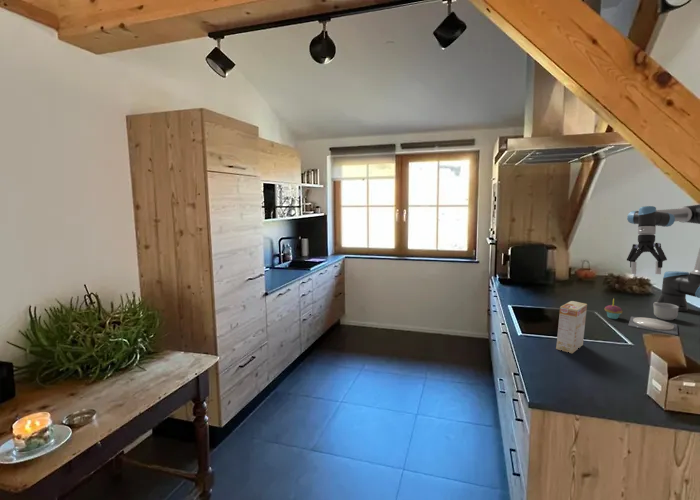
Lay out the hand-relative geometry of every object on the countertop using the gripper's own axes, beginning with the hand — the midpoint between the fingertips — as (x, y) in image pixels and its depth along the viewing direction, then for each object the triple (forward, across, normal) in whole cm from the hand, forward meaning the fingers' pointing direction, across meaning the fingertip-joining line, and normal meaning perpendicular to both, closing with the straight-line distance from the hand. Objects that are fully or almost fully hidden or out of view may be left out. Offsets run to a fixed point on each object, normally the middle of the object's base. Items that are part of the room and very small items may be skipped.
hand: (645, 273), depth 206 cm
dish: (+27, +2, +3) cm, 28 cm away
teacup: (+24, -8, +23) cm, 34 cm away
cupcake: (+26, -13, -6) cm, 30 cm away
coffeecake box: (+38, +18, -64) cm, 76 cm away
